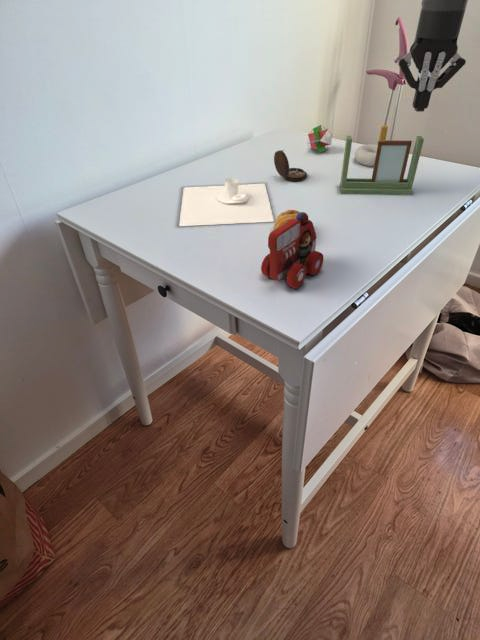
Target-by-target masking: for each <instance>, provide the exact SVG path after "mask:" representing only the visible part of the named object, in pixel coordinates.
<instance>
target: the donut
mask: <svg viewBox="0 0 480 640" xmlns="http://www.w3.org/2000/svg"><path fill="white" fill-rule="evenodd" d="M377 146H378V143H370V144H369V143H368V144H363V145H360V146H358V147H357V148H356V149H355V151H354V159H355V161H356V162H357V163H359V164H360V165H363V166H368V167H374V163H375V157H376V152H377Z"/></svg>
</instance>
